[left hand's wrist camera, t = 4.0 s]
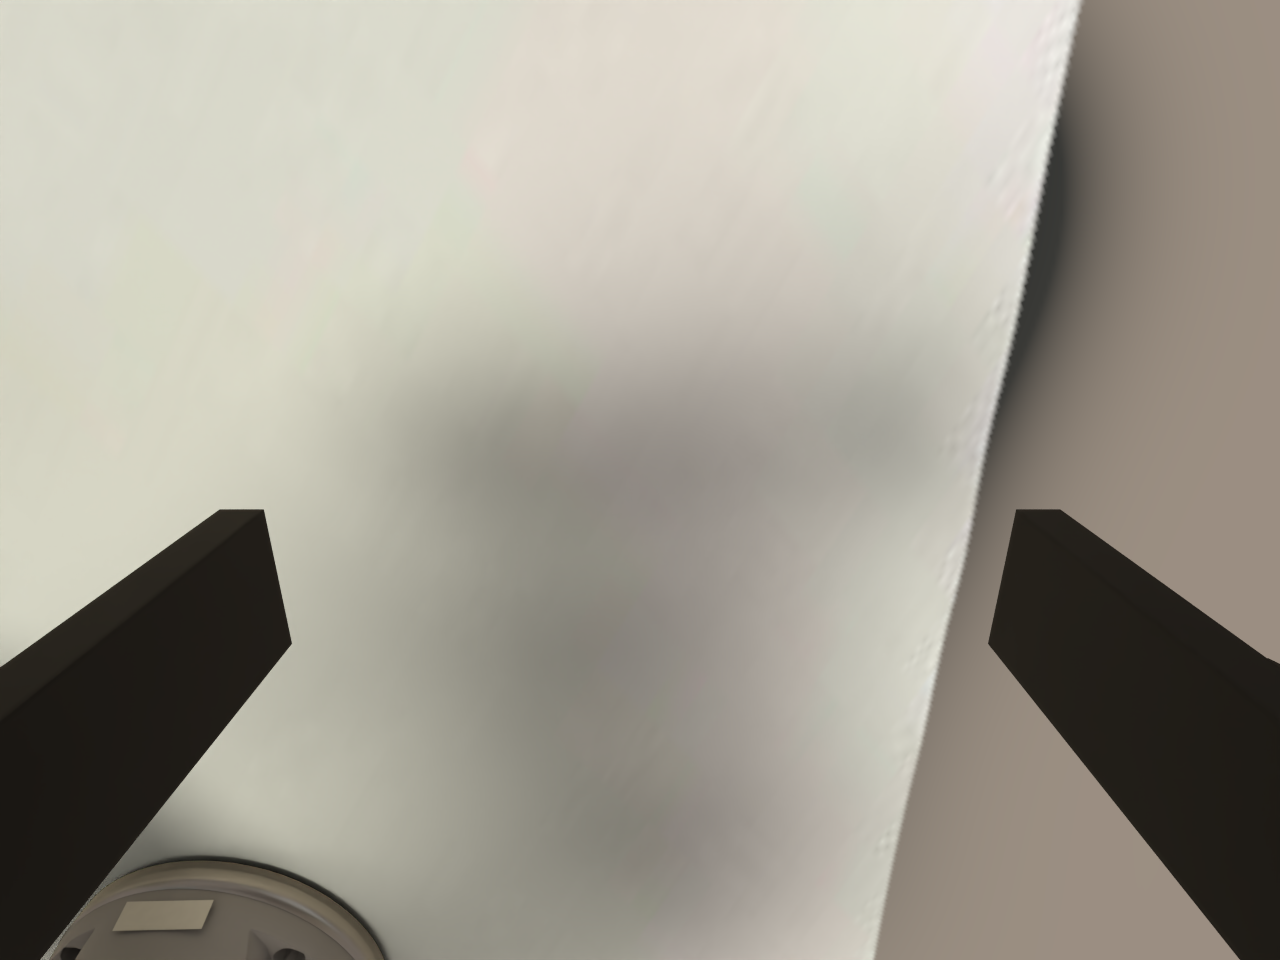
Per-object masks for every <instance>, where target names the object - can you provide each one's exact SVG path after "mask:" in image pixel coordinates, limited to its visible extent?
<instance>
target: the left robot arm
mask: <svg viewBox="0 0 1280 960" xmlns="http://www.w3.org/2000/svg"><path fill="white" fill-rule="evenodd" d="M291 644H292V642H291V637H290V632H289V628H288V623H287V618H286V613H285V609H284V604H283V599H282V594H281V589H280V585H279V580H278V575H277V570H276V566H275V561H274V556H273V551H272V547H271V542H270V537H269V532H268V528H267V523H266V518H265V513H264V510H218V511H217V512H216V513H214V514H213V515H211V516H210V517H209V518H207V519H206V520H205V521H203V522H202V523H200V524H199V525H198V526H196V527H195V528H193V529H192V530H191V531H189V532H188V533H186V534H185V535H184V536H182V537H181V538H180V539H178V540H177V541H175V542H174V543H173V544H171V545H170V546H168V547H167V548H166V549H164V550H163V551H161V552H160V553H159V554H157V555H156V556H155V557H153V558H152V559H150V560H149V561H148V562H146V563H145V564H143V565H142V566H141V567H139V568H138V569H136V570H135V571H134V572H132V573H131V574H130V575H128V576H127V577H125V578H124V579H123V580H121V581H120V582H118V583H117V584H116V585H114V586H113V587H112V588H110V589H109V590H107V591H106V592H105V593H103V594H102V595H100V596H99V597H98V598H96V599H95V600H93V601H92V602H91V603H89V604H88V605H87V606H85V607H84V608H82V609H81V610H80V611H78V612H77V613H75V614H74V615H73V616H71V617H70V618H68V619H67V620H66V621H64V622H63V623H62V624H60V625H59V626H57V627H56V628H55V629H53V630H52V631H50V632H49V633H48V634H46V635H45V636H43V637H42V638H41V639H39V640H38V641H37V642H35V643H34V644H32V645H31V646H30V647H28V648H27V649H25V650H24V651H23V652H21V653H20V654H18V655H17V656H16V657H14V658H13V659H12V660H10V661H9V662H7V663H6V664H5V665H3V666H1V667H0V960H40V959H41V958H42V957H43V955H44V954H45V953H46V952H47V950H48V949H49V948H50V947H51V945H52V944H53V943H54V942H55V940H56V939H57V938H58V937H59V935H60V934H61V933H62V931H63V930H64V929H65V928H66V926H67V925H68V924H69V923H70V921H71V920H72V919H73V918H74V916H75V915H76V914H77V913H78V911H79V910H80V909H81V908H82V906H83V905H84V904H85V903H86V901H87V900H88V899H89V898H90V896H91V895H92V894H93V893H94V891H95V890H96V889H97V888H98V886H99V885H100V884H101V883H102V881H103V880H104V879H105V878H106V876H107V875H108V874H109V873H110V871H111V870H112V869H113V868H114V866H115V865H116V864H117V862H118V861H119V860H120V859H121V857H122V856H123V855H124V854H125V852H126V851H127V850H128V849H129V847H130V846H131V845H132V844H133V842H134V841H135V840H136V839H137V837H138V836H139V835H140V834H141V832H142V831H143V830H144V829H145V827H146V826H147V825H148V824H149V822H150V821H151V820H152V819H153V817H154V816H155V815H156V814H157V812H158V811H159V810H160V809H161V807H162V806H163V805H164V804H165V802H166V801H167V800H168V798H169V797H170V796H171V795H172V793H173V792H174V791H175V790H176V788H177V787H178V786H179V785H180V783H181V782H182V781H183V780H184V778H185V777H186V776H187V775H188V773H189V772H190V771H191V770H192V768H193V767H194V766H195V765H196V763H197V762H198V761H199V760H200V758H201V757H202V756H203V755H204V753H205V752H206V751H207V750H208V748H209V747H210V746H211V745H212V743H213V742H214V741H215V740H216V738H217V737H218V736H219V735H220V733H221V732H222V731H223V729H224V728H225V727H226V726H227V724H228V723H229V722H230V721H231V719H232V718H233V717H234V716H235V714H236V713H237V712H238V711H239V709H240V708H241V707H242V706H243V704H244V703H245V702H246V701H247V699H248V698H249V697H250V696H251V694H252V693H253V692H254V691H255V689H256V688H257V687H258V686H259V684H260V683H261V682H262V681H263V679H264V678H265V677H266V676H267V674H268V673H269V672H270V671H271V669H272V668H273V667H274V665H275V664H276V663H277V662H278V660H279V659H280V658H281V657H282V655H283V654H284V653H285V652H286V650H287V649H288V648H289V647H290V645H291ZM988 644H989V645H990V647H991V648H992V649H993V650H994V652H995V653H996V654H997V655H998V657H999V658H1000V659H1001V660H1002V662H1003V663H1004V664H1005V665H1006V667H1007V668H1008V669H1009V671H1010V672H1011V673H1012V674H1013V675H1014V677H1015V678H1016V679H1017V681H1018V682H1019V683H1020V684H1021V686H1022V687H1023V688H1024V689H1025V691H1026V692H1027V693H1028V694H1029V696H1030V697H1031V698H1032V699H1033V701H1034V702H1035V703H1036V704H1037V706H1038V707H1039V708H1040V709H1041V711H1042V712H1043V713H1044V714H1045V716H1046V717H1047V718H1048V719H1049V721H1050V722H1051V723H1052V724H1053V726H1054V727H1055V728H1056V729H1057V731H1058V732H1059V733H1060V734H1061V736H1062V737H1063V738H1064V740H1065V741H1066V742H1067V743H1068V745H1069V746H1070V747H1071V748H1072V750H1073V751H1074V752H1075V753H1076V755H1077V756H1078V757H1079V758H1080V760H1081V761H1082V762H1083V763H1084V765H1085V766H1086V767H1087V768H1088V770H1089V771H1090V772H1091V773H1092V775H1093V776H1094V777H1095V778H1096V780H1097V781H1098V782H1099V783H1100V785H1101V786H1102V787H1103V788H1104V790H1105V791H1106V792H1107V793H1108V795H1109V796H1110V797H1111V798H1112V800H1113V801H1114V802H1115V804H1116V805H1117V806H1118V807H1119V808H1120V810H1121V811H1122V812H1123V814H1124V815H1125V816H1126V817H1127V819H1128V820H1129V821H1130V822H1131V824H1132V825H1133V826H1134V827H1135V829H1136V830H1137V831H1138V832H1139V834H1140V835H1141V836H1142V837H1143V839H1144V840H1145V841H1146V842H1147V844H1148V845H1149V846H1150V847H1151V849H1152V850H1153V851H1154V852H1155V854H1156V855H1157V856H1158V857H1159V859H1160V860H1161V861H1162V862H1163V864H1164V865H1165V866H1166V867H1167V869H1168V870H1169V871H1170V873H1171V874H1172V875H1173V876H1174V878H1175V879H1176V880H1177V881H1178V882H1179V884H1180V885H1181V886H1182V888H1183V889H1184V890H1185V891H1186V893H1187V894H1188V895H1189V896H1190V898H1191V899H1192V900H1193V901H1194V903H1195V904H1196V905H1197V906H1198V908H1199V909H1200V910H1201V911H1202V913H1203V914H1204V915H1205V916H1206V918H1207V919H1208V920H1209V921H1210V923H1211V924H1212V925H1213V926H1214V928H1215V929H1216V930H1217V931H1218V933H1219V934H1220V935H1221V937H1222V938H1223V939H1224V940H1225V942H1226V943H1227V944H1228V945H1229V947H1230V948H1231V949H1232V950H1233V952H1234V953H1235V954H1236V955H1237V957H1238V958H1239V959H1240V960H1280V664H1279V663H1277V662H1275V661H1273V660H1271V659H1268V658H1266V657H1264V656H1263V655H1262V654H1260V653H1259V652H1257V651H1256V650H1255V649H1253V648H1252V647H1250V646H1249V645H1248V644H1246V643H1245V642H1243V641H1242V640H1241V639H1239V638H1238V637H1237V636H1235V635H1234V634H1232V633H1231V632H1230V631H1228V630H1227V629H1225V628H1224V627H1223V626H1221V625H1220V624H1218V623H1217V622H1216V621H1214V620H1213V619H1212V618H1210V617H1209V616H1207V615H1206V614H1205V613H1203V612H1202V611H1200V610H1199V609H1198V608H1196V607H1195V606H1193V605H1192V604H1191V603H1189V602H1188V601H1187V600H1185V599H1184V598H1182V597H1181V596H1180V595H1178V594H1177V593H1175V592H1174V591H1173V590H1171V589H1170V588H1168V587H1167V586H1166V585H1164V584H1163V583H1161V582H1160V581H1159V580H1157V579H1156V578H1155V577H1153V576H1152V575H1150V574H1149V573H1148V572H1146V571H1145V570H1144V569H1142V568H1141V567H1139V566H1138V565H1137V564H1135V563H1134V562H1132V561H1131V560H1130V559H1128V558H1127V557H1125V556H1124V555H1123V554H1121V553H1120V552H1118V551H1117V550H1116V549H1114V548H1113V547H1111V546H1110V545H1109V544H1107V543H1106V542H1105V541H1103V540H1102V539H1100V538H1099V537H1098V536H1096V535H1095V534H1094V533H1092V532H1091V531H1089V530H1088V529H1087V528H1085V527H1084V526H1082V525H1081V524H1080V523H1078V522H1077V521H1075V520H1074V519H1073V518H1071V517H1070V516H1069V515H1067V514H1066V513H1064V512H1063V511H1062V510H1016V513H1015V518H1014V523H1013V528H1012V532H1011V537H1010V542H1009V547H1008V552H1007V556H1006V561H1005V566H1004V570H1003V575H1002V580H1001V585H1000V590H999V595H998V599H997V604H996V609H995V613H994V618H993V623H992V628H991V632H990V637H989V642H988ZM50 960H384V958H383V956H382V953H381V951H380V950H379V948H378V946H377V944H376V943H375V941H374V940H373V938H372V937H371V935H370V934H369V933H368V931H367V930H366V929H365V928H364V927H363V926H362V924H361V923H360V922H359V921H358V920H357V919H355V918H354V917H353V916H352V915H351V914H350V913H349V912H348V911H347V910H345V909H344V908H343V907H342V906H340V905H339V904H338V903H336V902H335V901H333V900H332V899H330V898H329V897H327V896H326V895H324V894H322V893H321V892H319V891H317V890H315V889H314V888H312V887H310V886H307V885H305V884H303V883H301V882H299V881H297V880H294V879H292V878H289V877H287V876H284V875H281V874H278V873H275V872H272V871H269V870H265V869H261V868H257V867H253V866H249V865H243V864H238V863H231V862H222V861H203V860H198V861H180V862H170V863H165V864H159V865H154V866H151V867H147V868H144V869H140V870H137V871H135V872H132V873H130V874H127V875H125V876H123V877H121V878H119V879H117V880H115V881H114V882H112V883H111V884H109V885H108V886H106V887H105V888H104V889H102V890H101V891H100V892H99V893H98V894H97V895H95V897H94V898H93V899H92V900H91V901H90V902H89V903H88V905H87V906H86V907H85V908H84V910H83V911H82V912H81V913H80V915H79V916H78V917H77V918H76V920H75V921H74V922H73V923H72V925H71V926H70V927H69V929H68V930H67V931H66V932H65V934H64V936H63V937H62V939H61V940H60V942H59V944H58V946H57V948H56V949H55V951H54V953H53V954H52V956H51V958H50Z"/></svg>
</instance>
